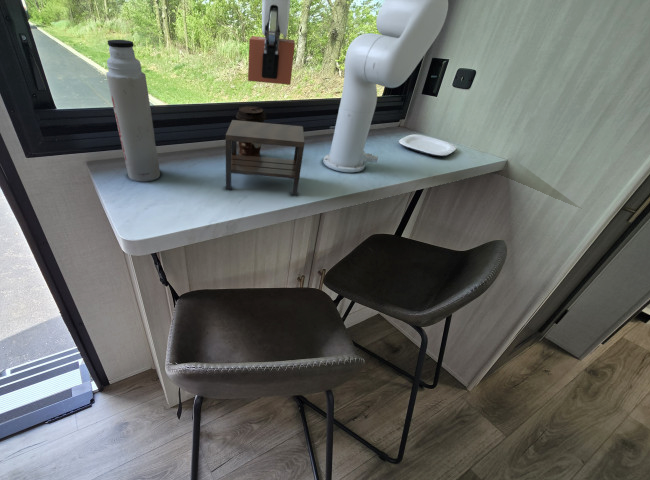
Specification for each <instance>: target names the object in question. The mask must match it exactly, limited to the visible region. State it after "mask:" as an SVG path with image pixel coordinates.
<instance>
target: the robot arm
mask: <svg viewBox="0 0 650 480" xmlns="http://www.w3.org/2000/svg"><path fill="white" fill-rule="evenodd" d="M290 9H291V0H261V34H262V35H263V37H265V47H264V54H263V63H262V77H263V78H271V79H276V78H277V73H278V62H279V55H278V47H279V39H281V38H280V37H281V35H282V36H283V38H282V39H286V37H287V36H288V30H289V29H288V28H289V19H290ZM448 10H449V0H384V1H383V3H382V4H381V6H380V9H379V11H378V13H377V16H376V19H375V20H376V21H375V25H376V30H377V31H378V33H371V32H370V33H363V34H360V35H358V36H356V37H355V38H354V39H353V40H352V41H351V42H350V44H349V45H348V48H347V50H346V54H345V58H344V75H343V77H344V78H343V87H342V93H341V97H340V103H339V107H338V113H337V117H336V122H335V127H334V132H333V137H332V142H331V146H330V151H329V153H328V154H327V155H325V156H324V157H323V160H322V162H323V164H324V166H326V167H327V168H329V169H331V170H333V171H337V172H341V173H342V172H343V173H359V172H361V171H364V169H365V166H366V163H372V164H373V163H374V164H377V163H378V161H379V156H378V155H373V153H370V152H369V153H366V151H364V150H365V146H366V143H367V139H368V136H369V132H370V128H371V125H372V120H373V117H374V114H375V111H376V108H377V107H376V106H377V102H378V91H377V90H378V89H377V86H380V87H385V88H389V89H395V88H398V87H400V86H401V85H402V84H404V83H405V82H406V81H407V80H408V78H410V76H411V75H412V73H413V72H414V71H415V69H416V68H417V66H418V65H419V64H420V62H421V61H422V59H423V58H424V56H425V55H426V53H427V52H428V50H429V49H430V48H431V46H432V45H433V44H434V42H435V40H436V39H437V37H438V36H439V34H440V33H441V30H442V28H443V26H444V24H445V22H446V19H447V16H448ZM275 49H276V51H275Z"/></svg>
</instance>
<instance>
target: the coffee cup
mask: <svg viewBox="0 0 650 480" xmlns="http://www.w3.org/2000/svg"><path fill="white" fill-rule="evenodd" d="M235 117H236V120H238V121H249V122H259V123H264V122H265V121H266V120H267V115H266V112H265V111H264V109H263V108H262V107H259V106H252V105H245V106H241V107H239V109H238V112H237V113H236V115H235ZM261 148H262V144H259V143H248V142H238V155H245V156H256V157H261V156H260V155H261Z"/></svg>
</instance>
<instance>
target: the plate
mask: <svg viewBox="0 0 650 480" xmlns="http://www.w3.org/2000/svg"><path fill="white" fill-rule="evenodd" d="M398 144H399V145H400V146H402V147H405V148H408V149H409V150H411V151H413V152H415V153H418V154H419V153H420V154H423V155H428V156H433V157H447V156H450V155H451V154H453V153H454V152H456V150H457V149H458V147H457V146H456V144H453V143H451V142H449V141H446V140H441V139H439V138H434V137H432V136H427V135H423V134H417V133H416V134H415V133H414V134H409V135H406V136H404V137H402V138H401V139H399V140H398Z"/></svg>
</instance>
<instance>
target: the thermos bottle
mask: <svg viewBox="0 0 650 480" xmlns="http://www.w3.org/2000/svg"><path fill="white" fill-rule="evenodd" d="M107 46H108V47H109V48H108V52H109V58H107V59H106V63H107V64H106V67H107V69H108V71H107V72H106V73H105V76H106V81H107V84H108V85H107V86H108V90H109V93H110V98H111V103H112V107H113V112H114V116H115V120H116V125H117V130H118V135H119V140H120V144H121V149H122V153H123V157H124V162H125V166H126V171H127V175H128V176H127V177H128V178H129V180H131V181H136V182H151V181H155V180H156V179H158V178H159V177H160V176H161V169H160V163H159V156H158V150H157V145H156V140H155V129H154V123H153V116H152V110H151V103H150V97H149V89H148V82H147V76H146V74H145V73H144V72H143V71H142V64H141V61H140V60H139V59H137V58H136V55H135V50H134V42H133V41H131V40H127V39H109V40H107Z"/></svg>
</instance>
